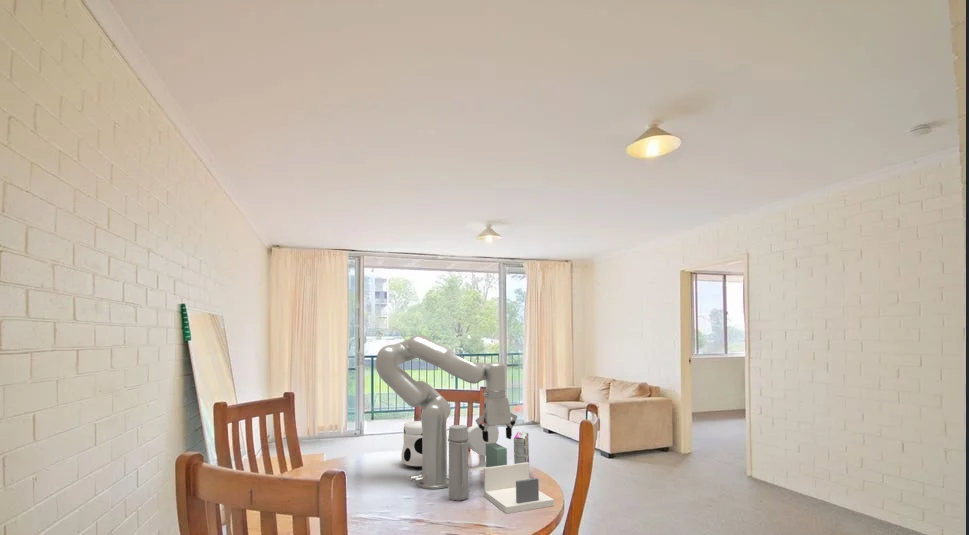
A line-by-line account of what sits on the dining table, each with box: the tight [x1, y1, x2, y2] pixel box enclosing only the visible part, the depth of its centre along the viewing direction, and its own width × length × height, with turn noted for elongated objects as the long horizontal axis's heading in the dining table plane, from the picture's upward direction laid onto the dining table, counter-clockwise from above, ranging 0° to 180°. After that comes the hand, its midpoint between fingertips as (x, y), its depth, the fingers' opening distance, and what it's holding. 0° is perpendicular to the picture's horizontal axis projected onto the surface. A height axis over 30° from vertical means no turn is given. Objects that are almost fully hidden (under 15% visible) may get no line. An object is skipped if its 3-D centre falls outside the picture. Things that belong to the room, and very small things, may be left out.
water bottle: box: [447, 424, 470, 502], centre depth 190 cm, size 9×8×25 cm
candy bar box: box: [513, 431, 530, 464], centre depth 217 cm, size 11×5×16 cm, turn 168°
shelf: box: [483, 462, 555, 514], centre depth 186 cm, size 18×19×10 cm
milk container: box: [400, 420, 422, 469], centre depth 234 cm, size 17×17×18 cm
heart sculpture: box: [467, 423, 500, 472], centre depth 230 cm, size 16×5×18 cm, turn 125°
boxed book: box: [485, 442, 508, 467], centre depth 204 cm, size 4×11×15 cm, turn 23°
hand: (497, 439), depth 205 cm, fingers open, 9 cm apart
